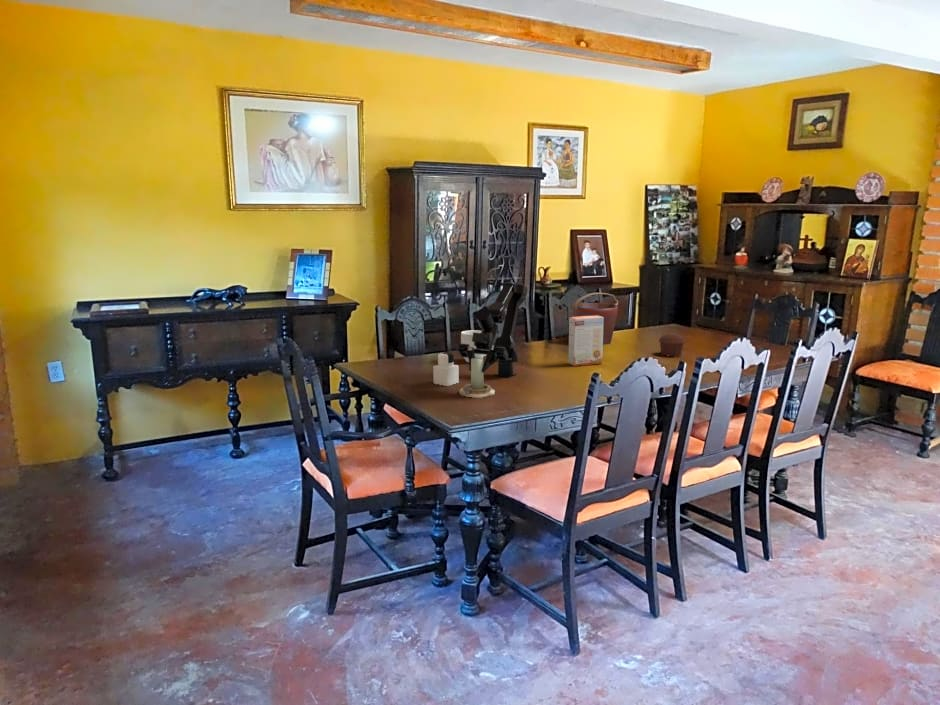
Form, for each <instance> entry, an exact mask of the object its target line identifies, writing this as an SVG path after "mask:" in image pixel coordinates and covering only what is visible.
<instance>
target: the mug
mask: <svg viewBox="0 0 940 705" xmlns="http://www.w3.org/2000/svg"><path fill="white" fill-rule="evenodd" d="M481 331H482V330H478V329H477V330H475V329H474V330H470V329H469V330H463V331H461V332H460V343H462V344H469V346H470V347H473V348H476V346H474V342H472V337H473V333H481ZM493 348H494V345H493V346H492V350H493ZM486 356H487V355H483V354H475V357H476V358H483V359H484V357H486ZM463 359H464V360H465V362H466V363H469V359H468V358H467V357H463Z"/></svg>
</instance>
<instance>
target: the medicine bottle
mask: <svg viewBox="0 0 940 705" xmlns="http://www.w3.org/2000/svg"><path fill="white" fill-rule="evenodd" d="M454 356H455V355H454V354H453V353H451V352H448V351H447V352H445V351H444V352H440V353H439V354H437V364H436V365H433V368H432V369H433V372H432V373H433V374H432V375H433V384H434V385H438V384H439V386H442V385H443V386H444V387H450V386H452V385H453V384H454V385H456V383H457V384H459V380H460V379H459V365H458V364H454V363H455V360H454ZM443 386H442V387H443Z"/></svg>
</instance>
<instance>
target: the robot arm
mask: <svg viewBox="0 0 940 705" xmlns="http://www.w3.org/2000/svg"><path fill="white" fill-rule="evenodd" d="M528 291H529V290H528V287H527V286H526V285H525V284H523V283H516V282H511V281H509V282H508V281H507V282H503V283H502V288H501V290H500V291H499V294H498V295H497V297H496V299H495V301H494V302H492V303H491V304H489V305H488V306H485V305H484V306H482V308H480V309H478V310H477V311H476V312H475V314H474V316H475V317H474V318H475V319H476V322H477V324H478V326H479V327H480V329H481V330H480V331H481V333H473V337H472V342H474V346H476V348H473V347H470V346H469V344H462V343H461V342H460V343H459V344H457V348H456V350H457V352H458V353H459V355H460V357H462V358H464V357H467V358H468V359H469V362H468V368H469V369H468V370H469V372H471V359H472V358H476V357H475V354H483V355H486V356H485V361H484V365H483V368H482V373H484V374H485V372H486V371H487V370H488V369H489V368H490V367H491V366H492V365H494V364H495V363H498V365H497V372H496V373H495V374H494V376H498V377H503V378H510V377H514V376H516V375H517V373H516V372H514V363H516V362H518V359H519V353H518V352H517V350H516V344H515V341H514V334H515V329H516V324H517V320H518V314H519V309H520V306H521V305H522V304H523V303H524V302H525V299H526V296H528ZM498 324H501V325H502V324H503V327H502V332H501V334H500V336H499V337H497V334H499V326H498ZM492 346H493V350H492Z"/></svg>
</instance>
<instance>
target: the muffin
mask: <svg viewBox="0 0 940 705" xmlns="http://www.w3.org/2000/svg"><path fill="white" fill-rule="evenodd" d="M658 341H659V344H660V354H661V353H662V354H664V355H669V356H679V355H681V356H682V354H683V349H684V345H685V343H686V341H685V338H684V337H683V336H682V335H680V334H678V333H675V332H668V333H667V332H666V333H665V334H663V335H662V336H660V338H659V339H658ZM679 357H680V356H679Z"/></svg>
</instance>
